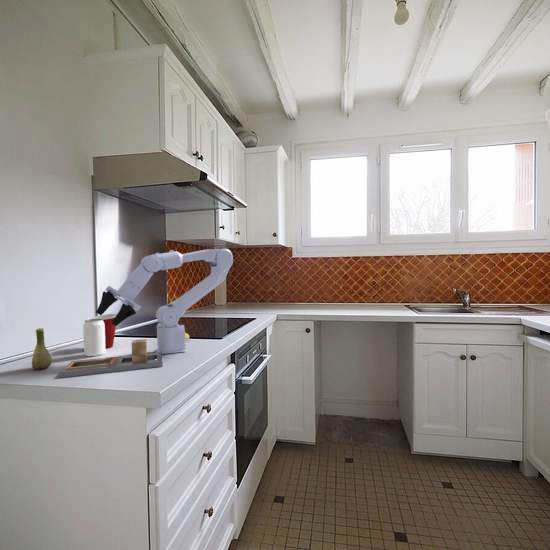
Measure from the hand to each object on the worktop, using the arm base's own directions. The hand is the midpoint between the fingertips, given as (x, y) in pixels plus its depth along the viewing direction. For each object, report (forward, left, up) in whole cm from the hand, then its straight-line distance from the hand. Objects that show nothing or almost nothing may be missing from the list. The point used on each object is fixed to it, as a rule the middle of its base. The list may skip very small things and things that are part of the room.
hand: (105, 319), depth 107 cm
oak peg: (-10, +9, -13) cm, 19 cm away
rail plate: (-4, +9, -13) cm, 17 cm away
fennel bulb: (+17, +2, -13) cm, 22 cm away
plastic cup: (+4, -21, -13) cm, 25 cm away
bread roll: (-23, -22, -14) cm, 34 cm away
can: (+5, -10, -13) cm, 17 cm away
